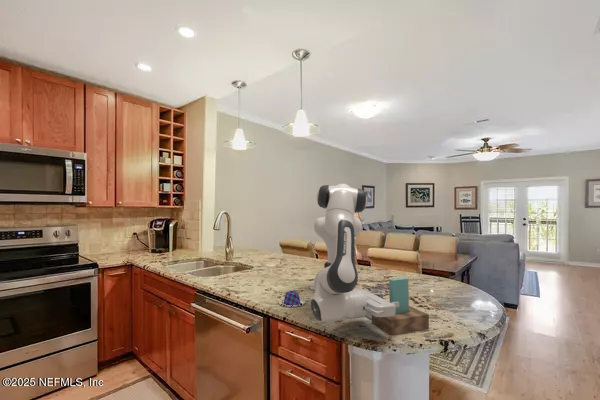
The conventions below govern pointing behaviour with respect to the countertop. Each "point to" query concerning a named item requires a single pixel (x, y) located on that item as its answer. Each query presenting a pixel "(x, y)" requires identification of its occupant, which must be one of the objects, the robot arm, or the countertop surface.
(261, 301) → the countertop surface
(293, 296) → the pudding
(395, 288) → the cover plate
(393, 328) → the slot box
